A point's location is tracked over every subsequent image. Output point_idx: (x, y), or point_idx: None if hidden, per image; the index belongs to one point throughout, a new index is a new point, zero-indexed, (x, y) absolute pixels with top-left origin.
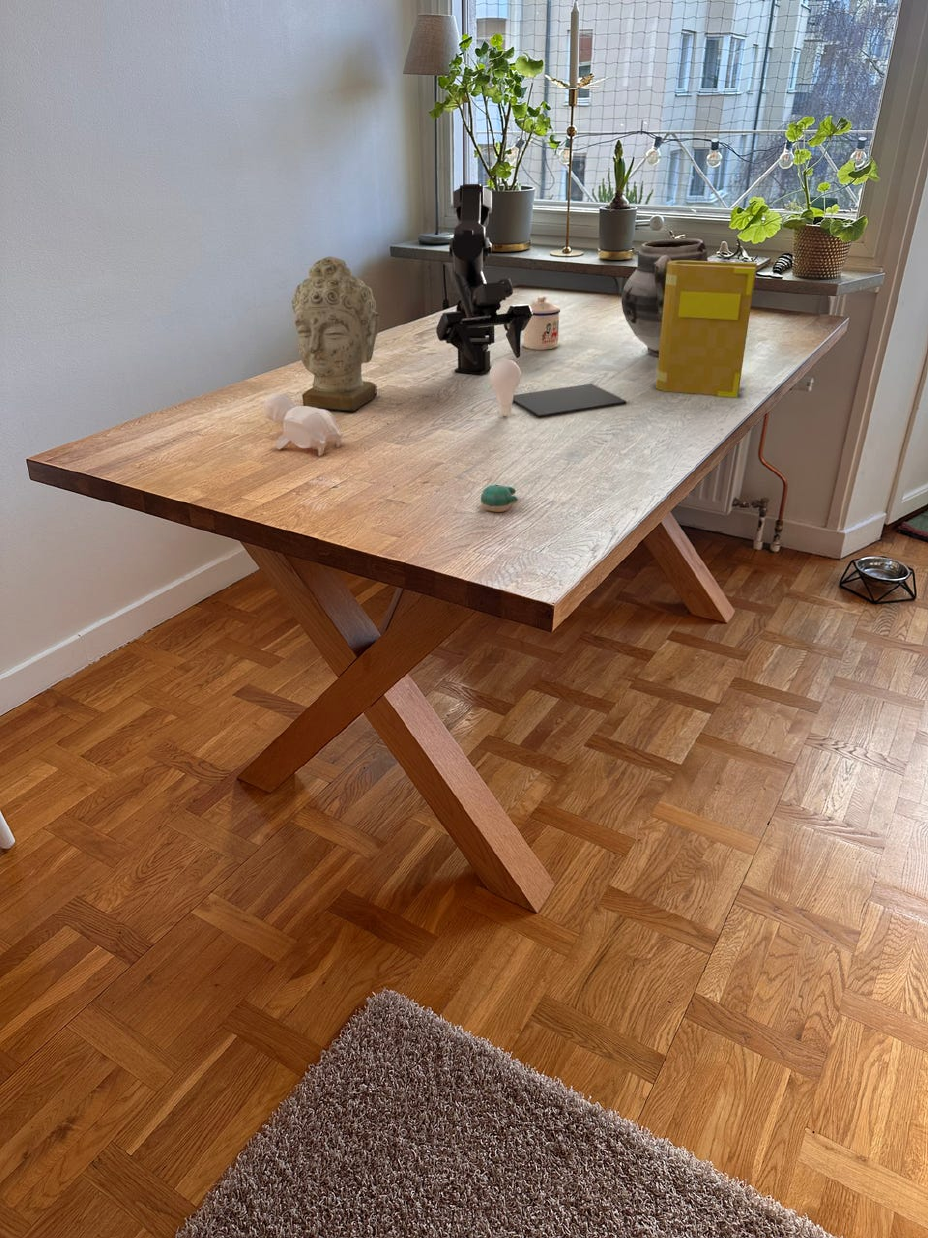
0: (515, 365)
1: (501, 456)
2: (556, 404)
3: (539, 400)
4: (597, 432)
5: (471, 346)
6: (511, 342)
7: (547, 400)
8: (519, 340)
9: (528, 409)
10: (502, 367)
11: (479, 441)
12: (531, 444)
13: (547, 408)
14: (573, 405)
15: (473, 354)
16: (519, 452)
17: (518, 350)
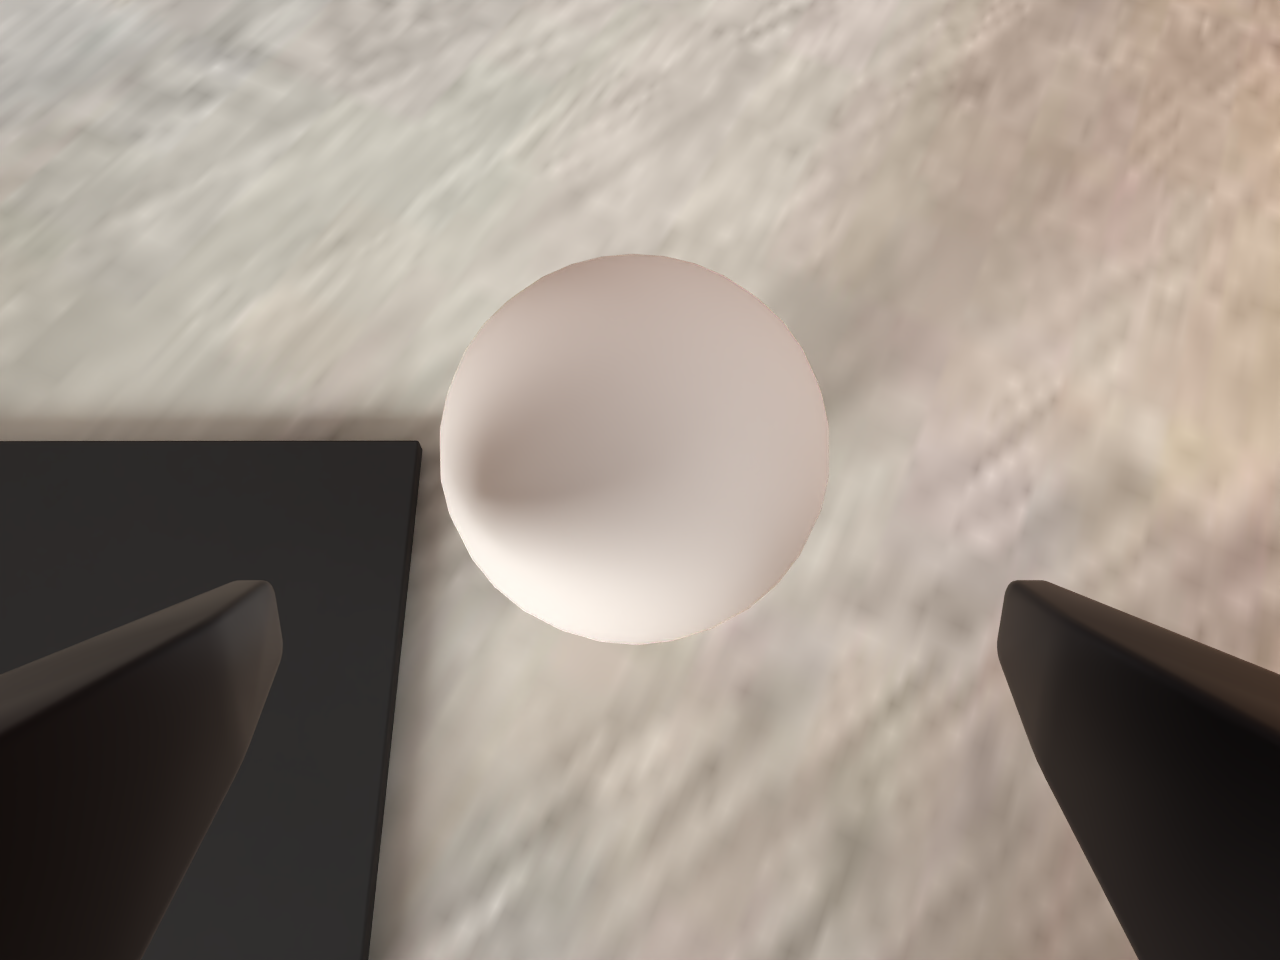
0: (539, 285)
1: (947, 17)
2: (128, 610)
3: None
4: (276, 93)
5: (1193, 667)
6: (92, 943)
7: None
8: (30, 672)
9: (400, 614)
10: (727, 286)
11: (998, 228)
12: (722, 86)
13: (261, 551)
14: (34, 528)
15: (1101, 613)
16: (835, 25)
17: (214, 603)
